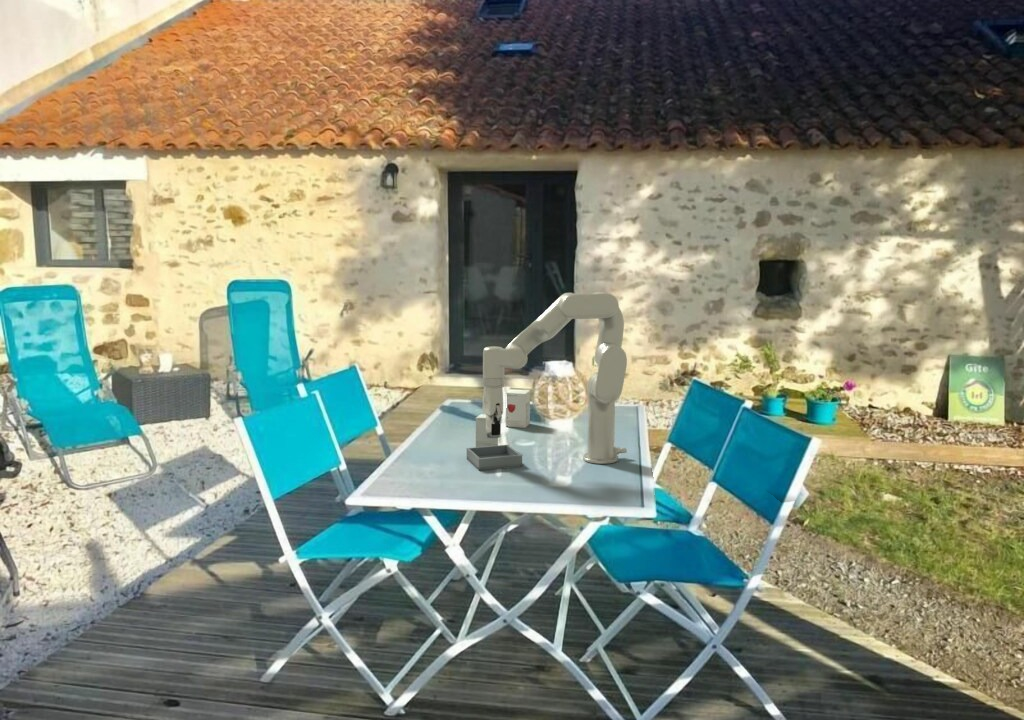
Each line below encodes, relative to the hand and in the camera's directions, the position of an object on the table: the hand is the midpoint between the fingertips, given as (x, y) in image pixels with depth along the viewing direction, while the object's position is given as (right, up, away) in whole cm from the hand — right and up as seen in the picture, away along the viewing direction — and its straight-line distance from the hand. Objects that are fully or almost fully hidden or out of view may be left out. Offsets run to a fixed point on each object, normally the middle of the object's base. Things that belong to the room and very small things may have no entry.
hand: (493, 432), depth 269 cm
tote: (0, -11, +2) cm, 11 cm away
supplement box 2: (+9, -3, +60) cm, 60 cm away
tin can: (0, -1, 0) cm, 1 cm away
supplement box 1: (-3, -8, +21) cm, 23 cm away
